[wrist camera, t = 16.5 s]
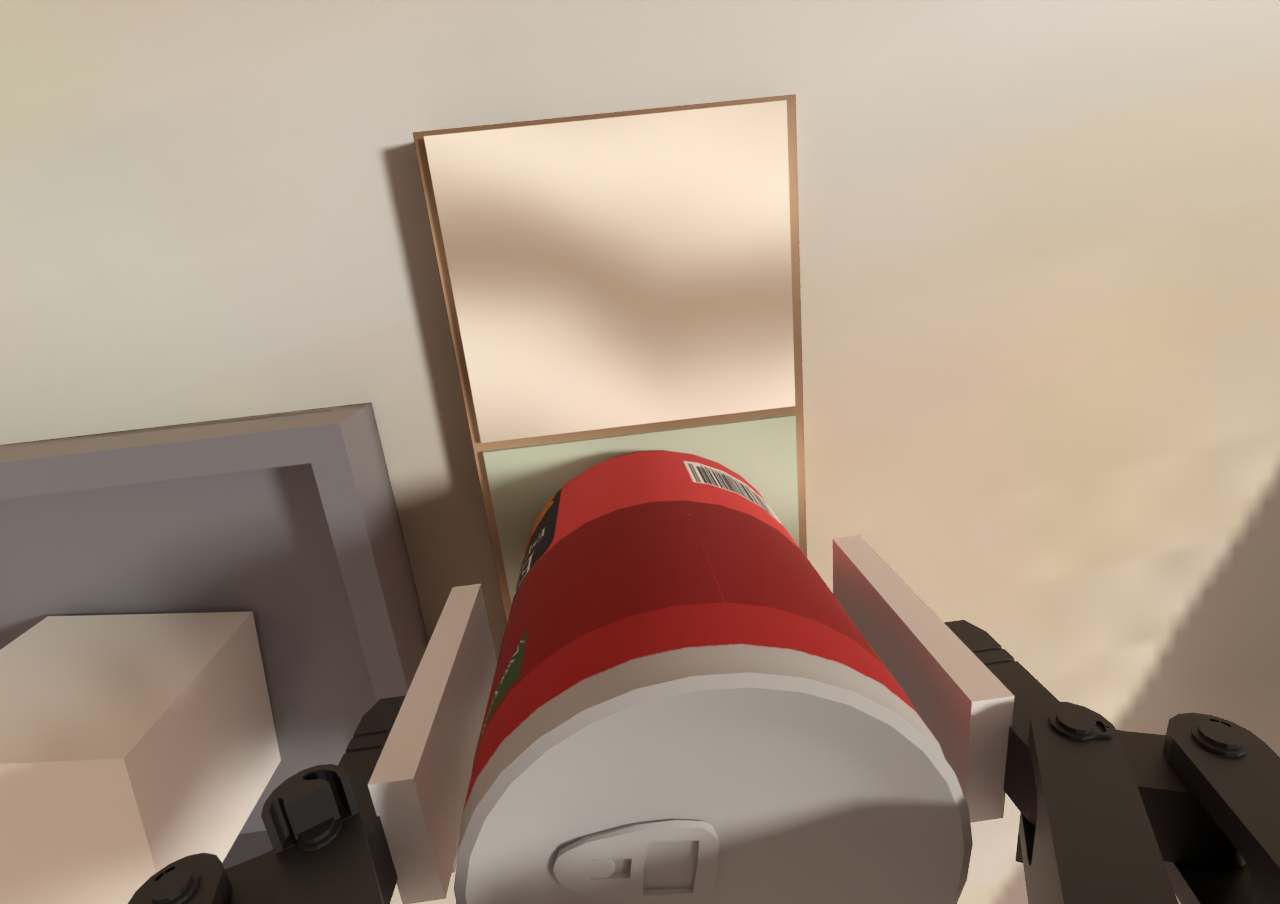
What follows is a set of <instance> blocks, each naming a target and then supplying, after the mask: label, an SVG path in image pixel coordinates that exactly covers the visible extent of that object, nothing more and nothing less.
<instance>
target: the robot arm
mask: <svg viewBox="0 0 1280 904" xmlns="http://www.w3.org/2000/svg"><path fill="white" fill-rule="evenodd" d="M833 595H834V596H835V598H836V599H837V600H838V602H839V603H840V604H841V606H842V607H843V609H844V610H845V611H846V613H847V614H848V615H849V617H850V618H851V620H852V621H853V622H854V624H855V625H856V626H857V628H858V629H859V631H860V632H861V633H862V635H863V636H864V637H865V639H866V640H867V642H868V643H869V644H870V646H871V647H872V648H873V650H874V651H875V653H876V654H877V655H878V657H879V658H880V659H881V661H882V662H883V664H884V665H885V666H886V668H887V669H888V670H889V672H890V673H891V675H892V676H893V677H894V679H895V680H896V681H897V683H898V684H899V686H900V687H901V688H902V690H903V691H904V692H905V694H906V695H907V697H908V699H909V700H910V702H911V704H912V705H913V707H914V709H915V710H916V711H917V713H918V714H919V716H920V717H921V718H922V720H923V721H924V723H925V724H926V725H927V727H928V728H929V730H930V731H931V732H932V734H933V735H934V737H935V738H936V739H937V741H938V742H939V744H940V747H941V749H942V752H943V754H944V757H945V759H946V761H947V762H948V764H949V765H950V766H951V768H952V769H953V771H954V772H955V774H956V777H957V779H958V782H959V784H960V787H961V789H962V792H963V794H964V797H965V799H966V802H967V805H968V807H969V815H970V822H977V821H983V820H990V819H997V818H1003V813H1004V802H1005V792H1006V793H1007V795H1008V796H1009V797H1010V799H1011V800H1012V801H1013V802H1014V804H1015V805H1016V806H1017V808H1018V809H1019V810H1020V812H1021V815H1020V824H1019V834H1018V843H1017V853H1016V861H1017V862H1021V863H1023V865H1024V872H1025V879H1026V888H1027V896H1028V903H1029V904H1178V901H1177V899H1176V896H1177V897H1178V899H1179V901H1180V902H1181V904H1280V757H1279V756H1277V754H1276V753H1275V752H1274V751H1273V750H1272V749H1271V748H1270V747H1269V746H1268V745H1267V744H1266V743H1265V742H1263V741H1262V740H1261V739H1259V738H1258V737H1257V736H1256V735H1254V734H1253V733H1252V732H1250V731H1248V730H1246V729H1245V728H1242V727H1241V726H1239V725H1237V724H1235V723H1233V722H1230V721H1227V720H1224V719H1221V718H1218V717H1214V716H1212V715H1205V714H1198V713H1185V714H1178V715H1176V716H1174V717H1173V718H1171V719H1170V720H1169V724H1168V728H1167V733H1166V735H1156V734H1146V733H1137V732H1126V731H1120V730H1116V729H1115V727H1114V726H1113V724H1111V723H1110V722H1109V721H1108V720H1106V719H1105V718H1104V717H1103V716H1101V715H1100V714H1098V713H1096V712H1094V711H1092V710H1090V709H1088V708H1086V707H1083V706H1079V705H1076V704H1072V703H1069V702H1059V701H1058V700H1057V699H1056V698H1055V697H1054V696H1053V695H1052V694H1051V693H1050V692H1049V691H1048V690H1047V689H1046V688H1045V687H1044V686H1043V685H1042V684H1040V683H1039V682H1038V681H1037V680H1036V679H1035V678H1034V677H1033V676H1032V675H1031V674H1030V673H1029V672H1028V671H1027V670H1026V669H1025V668H1024V667H1023V666H1022V665H1020V664H1019V663H1018V662H1017V661H1016V662H1015V661H1014V658H1013V657H1012V656H1011V655H1010V654H1009V653H1008V652H1007V651H1006V650H1005V649H1002V648H1001V646H1000V645H999V644H998V643H997V642H996V641H995V640H994V639H993V638H992V637H991V636H990V635H989V634H988V633H987V632H986V631H984V630H982V629H980V628H978V627H976V626H974V625H972V624H970V623H968V622H967V621H965V620H960V621H952V622H945V623H944V622H943V621H942V620H941V619H940V618H939V617H938V616H937V615H936V614H935V613H934V612H933V611H932V610H931V609H930V608H929V607H928V606H927V605H926V604H925V603H924V602H923V600H922V599H921V598H920V597H919V596H918V595H917V594H916V593H915V592H914V591H913V590H912V589H911V588H910V587H909V586H908V585H907V584H906V583H905V582H904V581H903V580H902V579H901V578H900V577H899V576H898V575H897V573H896V572H895V571H894V570H893V569H892V568H891V567H890V566H889V565H888V564H887V563H886V562H885V561H884V560H883V559H882V558H881V557H880V556H879V555H878V554H877V553H876V552H875V551H874V550H873V549H872V548H871V547H870V545H869V544H868V543H867V542H866V541H865V540H864V539H863V538H862V537H861V536H853V537H845V538H837V539H833ZM496 667H497V660H496V655H495V650H494V645H493V640H492V635H491V630H490V625H489V620H488V615H487V610H486V605H485V600H484V595H483V590H482V585H481V584H473V585H465V586H458V587H452V590H451V592H450V594H449V597H448V599H447V601H446V604H445V606H444V608H443V611H442V613H441V615H440V618H439V620H438V622H437V625H436V627H435V629H434V632H433V634H432V636H431V639H430V641H429V643H428V646H427V648H426V650H425V653H424V655H423V657H422V660H421V662H420V664H419V667H418V669H417V671H416V674H415V676H414V678H413V681H412V683H411V685H410V688H409V690H408V692H407V694H406V696H398V697H390V698H383V699H380V700H379V701H378V702H377V703H376V704H375V705H374V706H373V707H372V708H371V709H370V710H369V711H368V712H367V713H366V714H365V715H364V716H363V717H362V719H361V721H360V723H359V725H358V727H357V729H356V731H355V733H354V734H353V739H351V740H350V742H349V744H348V746H347V748H346V753H345V754H343V756H342V758H341V760H340V762H339V764H338V766H337V765H334V764H324V765H316V766H313V767H310V768H307V769H304V770H302V771H300V772H298V773H296V774H295V775H293V776H291V777H289V778H288V779H286V780H285V781H284V782H283V783H281V784H280V785H279V786H278V787H277V788H276V789H275V790H273V791H272V793H271V794H270V796H269V797H268V799H267V800H266V801H265V803H264V805H263V809H262V813H261V817H262V820H263V823H264V826H265V828H266V831H267V834H268V836H269V839H270V842H271V845H272V847H273V850H271V851H269V852H267V853H264V854H262V855H260V856H257V857H255V858H252V859H250V860H247V861H245V862H242V863H240V864H237V865H235V866H232V867H230V868H227V869H225V868H224V866H223V864H222V862H221V861H220V859H219V858H218V857H217V855H214V854H209V853H199V854H194V855H189V856H186V857H184V858H182V859H179V860H177V861H175V862H173V863H170V864H169V865H167V866H166V867H164V868H163V869H161V870H160V871H158V872H157V873H156V874H154V875H153V876H151V877H150V878H149V879H148V880H147V881H146V882H145V883H144V884H143V885H142V886H141V887H140V888H139V889H138V890H137V891H136V892H135V893H134V895H133V896H132V898H131V899H130V901H129V902H128V904H390V901H391V898H392V895H393V892H394V888H395V885H396V882H397V886H398V889H399V892H400V896H401V899H402V902H403V904H410V903H417V902H424V901H431V900H438V899H445V898H446V894H447V890H448V885H449V881H450V877H451V873H452V868H453V864H454V860H455V855H456V851H457V847H458V842H459V835H460V827H461V818H462V813H463V808H464V804H465V800H466V796H467V792H468V787H469V783H470V779H471V775H472V768H473V760H474V756H475V752H476V748H477V744H478V740H479V736H480V732H481V728H482V724H483V720H484V716H485V712H486V707H487V703H488V699H489V695H490V691H491V687H492V683H493V679H494V675H495V671H496ZM1175 894H1176V896H1175Z"/></svg>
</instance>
